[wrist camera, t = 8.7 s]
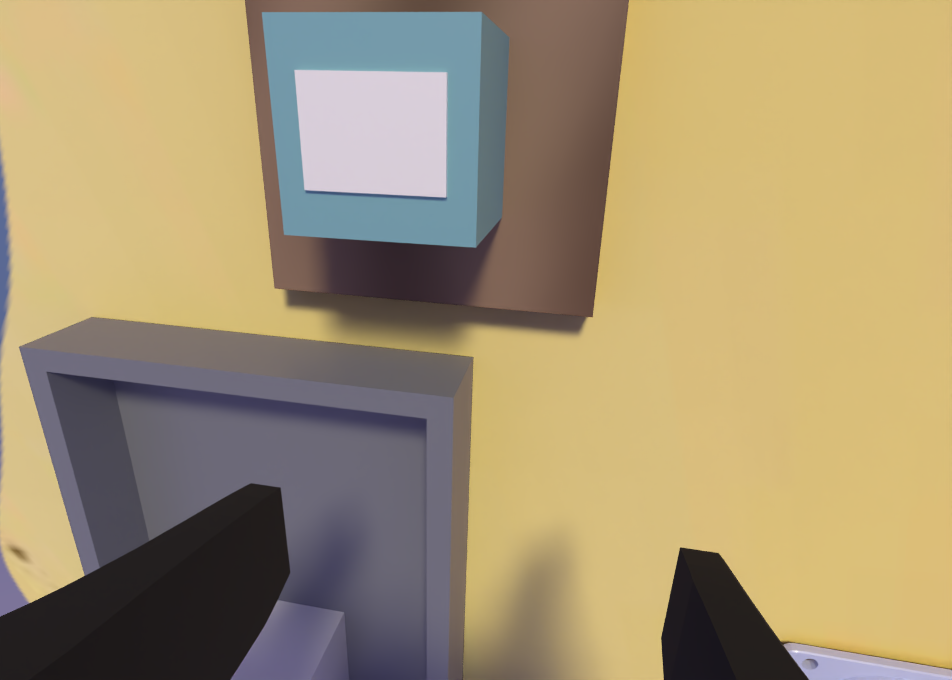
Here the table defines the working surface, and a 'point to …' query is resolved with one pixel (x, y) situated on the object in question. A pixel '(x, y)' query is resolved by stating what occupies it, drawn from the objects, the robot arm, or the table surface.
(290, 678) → the plain block
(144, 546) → the robot arm
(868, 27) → the table surface
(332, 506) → the bin
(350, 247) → the pad
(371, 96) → the labelled block
